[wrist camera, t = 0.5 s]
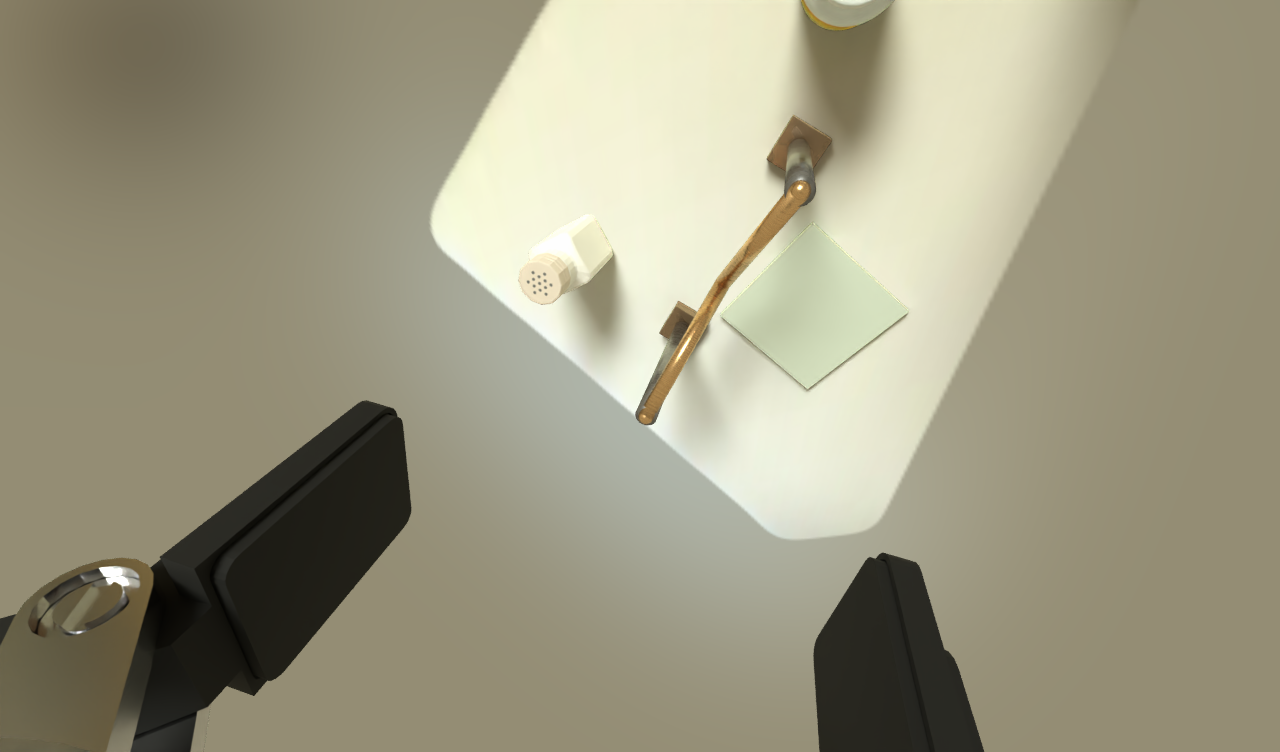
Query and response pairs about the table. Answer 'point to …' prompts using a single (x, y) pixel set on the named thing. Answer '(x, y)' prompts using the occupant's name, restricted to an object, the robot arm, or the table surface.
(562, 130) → the table surface
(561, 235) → the salt shaker
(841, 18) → the supplement bottle
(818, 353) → the mat
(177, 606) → the robot arm
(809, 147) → the wire hurdle
